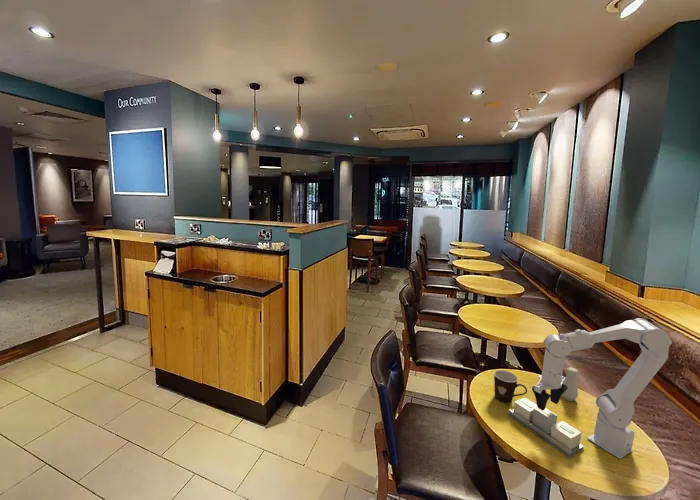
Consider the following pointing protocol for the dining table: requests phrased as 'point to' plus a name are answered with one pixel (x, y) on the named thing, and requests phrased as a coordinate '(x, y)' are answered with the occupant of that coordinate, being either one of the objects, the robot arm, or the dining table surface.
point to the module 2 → (566, 435)
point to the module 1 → (524, 408)
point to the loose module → (544, 419)
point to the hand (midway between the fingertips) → (547, 405)
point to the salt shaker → (571, 384)
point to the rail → (545, 435)
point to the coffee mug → (506, 386)
